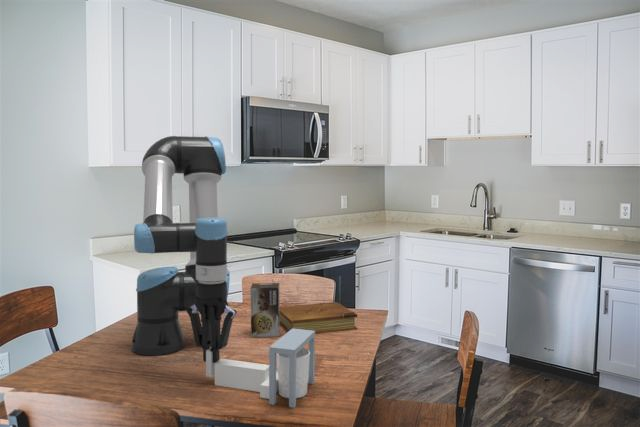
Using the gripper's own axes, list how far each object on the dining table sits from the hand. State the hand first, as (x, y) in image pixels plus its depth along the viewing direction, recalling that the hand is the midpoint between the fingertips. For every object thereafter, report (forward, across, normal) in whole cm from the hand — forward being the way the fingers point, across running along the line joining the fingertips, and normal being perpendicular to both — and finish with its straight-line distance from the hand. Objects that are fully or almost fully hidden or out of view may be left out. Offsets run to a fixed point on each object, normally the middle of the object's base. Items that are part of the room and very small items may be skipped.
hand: (211, 374), depth 133 cm
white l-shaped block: (+2, +10, 0) cm, 10 cm away
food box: (+2, -3, +40) cm, 41 cm away
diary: (+2, +9, +56) cm, 56 cm away
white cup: (+2, +21, +1) cm, 22 cm away
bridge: (+2, +21, +1) cm, 21 cm away
